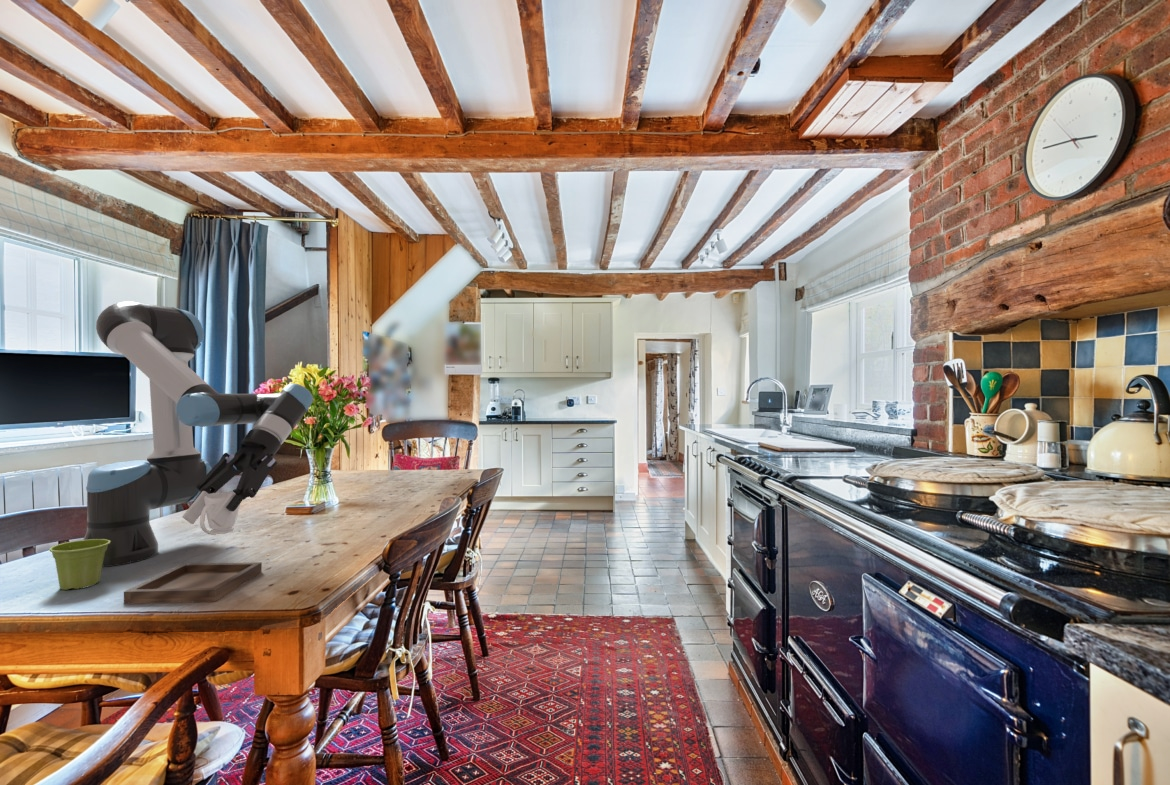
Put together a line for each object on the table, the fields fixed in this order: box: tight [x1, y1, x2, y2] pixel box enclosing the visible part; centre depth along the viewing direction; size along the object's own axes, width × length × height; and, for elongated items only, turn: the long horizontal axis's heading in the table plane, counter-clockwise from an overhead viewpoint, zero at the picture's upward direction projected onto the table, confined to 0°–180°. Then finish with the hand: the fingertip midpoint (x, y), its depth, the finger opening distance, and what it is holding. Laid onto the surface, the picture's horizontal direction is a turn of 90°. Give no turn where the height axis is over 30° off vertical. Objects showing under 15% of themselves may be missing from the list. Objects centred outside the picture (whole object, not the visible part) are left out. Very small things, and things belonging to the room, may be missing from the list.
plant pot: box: [48, 539, 111, 591], centre depth 113 cm, size 9×9×9 cm
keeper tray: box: [123, 561, 263, 605], centre depth 112 cm, size 17×17×2 cm
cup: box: [199, 491, 241, 536], centre depth 114 cm, size 7×10×8 cm
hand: (201, 521), depth 111 cm, fingers closed on cup, 7 cm apart
